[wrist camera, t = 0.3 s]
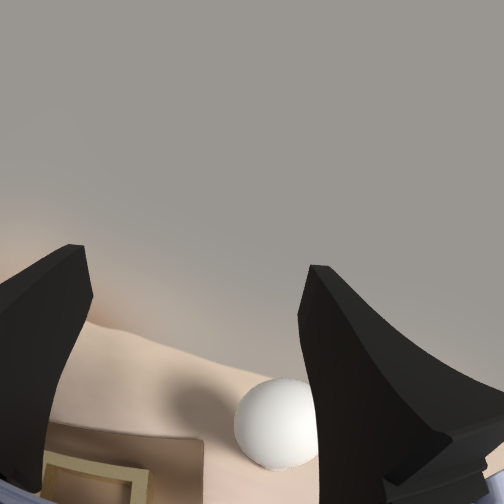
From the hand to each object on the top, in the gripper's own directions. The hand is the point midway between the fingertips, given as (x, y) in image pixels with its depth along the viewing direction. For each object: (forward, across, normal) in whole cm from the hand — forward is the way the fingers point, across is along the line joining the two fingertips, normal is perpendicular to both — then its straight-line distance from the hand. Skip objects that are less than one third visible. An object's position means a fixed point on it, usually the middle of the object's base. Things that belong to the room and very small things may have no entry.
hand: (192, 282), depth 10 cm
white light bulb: (+2, -6, +20) cm, 21 cm away
